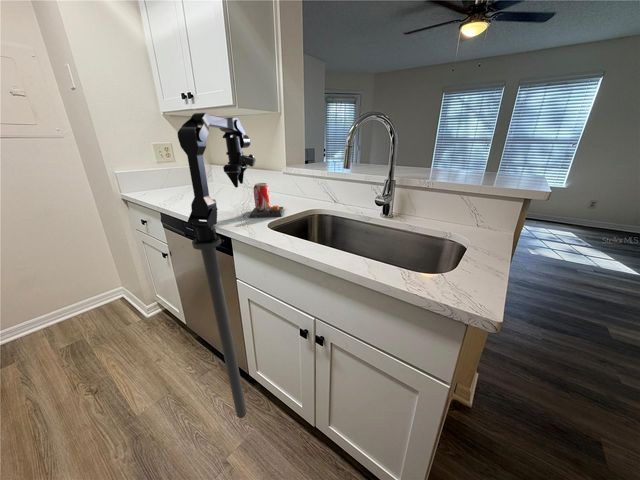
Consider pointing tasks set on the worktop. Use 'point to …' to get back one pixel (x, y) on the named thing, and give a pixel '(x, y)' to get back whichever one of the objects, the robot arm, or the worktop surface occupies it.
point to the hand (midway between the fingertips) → (239, 185)
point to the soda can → (261, 196)
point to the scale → (267, 213)
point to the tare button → (275, 207)
